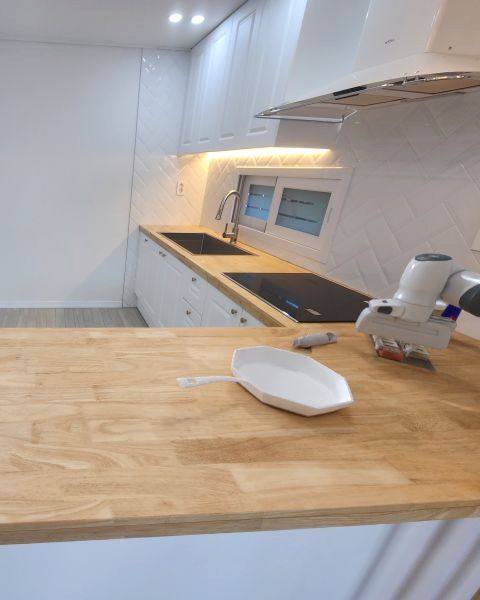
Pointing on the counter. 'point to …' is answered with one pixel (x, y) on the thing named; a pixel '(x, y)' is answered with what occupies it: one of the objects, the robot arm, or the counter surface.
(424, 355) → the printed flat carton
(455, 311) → the beverage can
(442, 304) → the sprinkles bottle
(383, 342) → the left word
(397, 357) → the s tile
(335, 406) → the pan
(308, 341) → the torpedo
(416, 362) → the letter board
